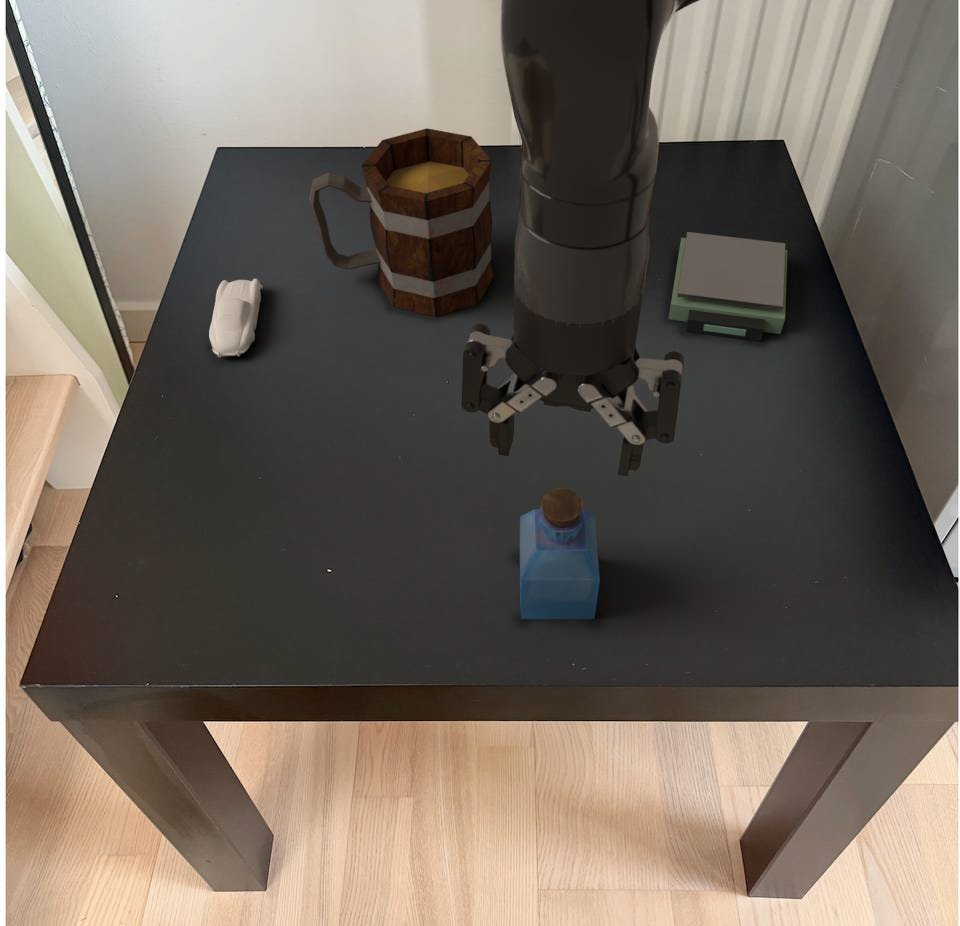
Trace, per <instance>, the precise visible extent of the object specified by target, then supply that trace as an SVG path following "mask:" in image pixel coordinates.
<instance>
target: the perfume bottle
mask: <svg viewBox="0 0 960 926" xmlns="http://www.w3.org/2000/svg"><path fill="white" fill-rule="evenodd" d="M540 503H541V504H540V506H539V507H540V508H539V509H532V510H530V511H529V512H527V513H524V514H522V515H521V516H520V517H519V595H520V596H519V597H520V598H519V599H520V601H519V603H520V620H595V616H596V609H597V602H598V595H599V589H600V588H599V587H600V580H601V579H600V566H599V555H598V554H599V553H598V543H597V540H598V539H597V531H596V530H597V529H596V517H595V515H593V514H592V513H591V512H589V511H587V510H586V509H584V508H583V505H584V503H583V500H582V498H581V496H580V495H579V494H578V493H577V492H575V491H573V490H572V489H569V488H563V487H558V488H553V489H551V490H549V491H547V492H546V493H545V494H544V495H543V497H542V499H541V502H540Z"/></svg>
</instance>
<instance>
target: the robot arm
mask: <svg viewBox="0 0 960 926" xmlns="http://www.w3.org/2000/svg"><path fill="white" fill-rule="evenodd" d="M697 2H700V0H501V6H500V15H499V16H500V18H499V21H500V23H499V30H500V31H499V37H500V48H501V57H502V62H503V68H504V73H505V78H506V83H507V88H508V93H509V98H510V102H511V108H512V112H513V116H514V120H515V123H516V127H517V131H518V134H519V136H520V140H521V143H520V144H521V145H520V156H519V157H520V159H519V169H520V170H519V212H518V218H517V225H516V226H517V227H516V230H515V238H514V250H513V268H514V269H513V335H512V336H511V337H510V338H506V337H501V336H495V335H491V330H490V328H489V327H488V326H487V324H484V323H475V324H474V325H473V326H472V327H471V330H470V332H469V335H468V339H467V341H466V344H465V348H464V350H463V352H462V354H463V355H462V376H461V377H462V379H461V409H463V410H464V411H465V412H468V413H476V412H478V411H480V412H482V413H484V414H485V415H487V419H488V422H489V425H488V426H489V443H490V445H491V447H492V448H497V452H498V456H503V457H509V456H510V452H511V449H512V446H513V442H514V438H515V437H514V436H515V413H518V414H521V413H522V412H524V411H526V410H527V409H528V408H529V407H531V406H532V405H534V404H535V403H536V402H538V401H539V400H540V401H541V402H543V405H544V406H548V407H549V406H550V407H558V408H559V407H568V408H571V409H574V410H577V411H581V412H588V413H591V412H592V410H595V411H596V412H597V413H598V414H599V416H600V417H601V418H602V419H603V420H604V422H605V423H606V424H607V425H608V426H609V427H610V428H616V429H617V430H618V431H619V432H620V433H621V435H622V436H623V438H622V444H621V445H622V447H621V451H620V459H619V465H618V471H617V475H618V476H623V477H628V476H629V472H630V471H636V472H637V470H638V469H639V468H640V466H641V461H642V456H643V449H644V445H645V443H646V442H647V441H649V440H653V439H654V440H655V439H656V441H657V442H659V443H661V444H670V443H672V442H673V441H674V439H675V436H676V435H675V433H676V427H677V418H678V411H679V404H680V394H681V387H682V378H683V371H684V363H685V357H684V355H683V354H682V352H678V351H669V352H667V353H666V354H665V355H664V359H658V358H645V357H641V355H640V353H639V351H638V350H637V347H636V343H637V337H638V330H639V326H640V325H639V324H640V318H641V311H642V305H643V297H644V291H645V284H646V278H647V275H648V274H649V269H650V264H649V263H650V262H649V261H650V260H649V257H650V248H651V247H650V245H651V244H650V242H651V241H650V238H651V237H650V235H651V233H650V220H651V212H652V205H653V197H654V192H655V191H654V190H655V185H656V177H657V170H658V162H659V161H658V160H659V150H660V149H659V148H660V136H659V135H660V133H659V126H658V123H657V118H656V116H655V114H654V113H653V111H652V109H651V107H650V100H651V90H652V82H653V74H654V70H655V64H656V59H657V55H658V51H659V48H660V47H659V46H660V42H661V40H662V36H663V34H664V32H665V30H666V29H667V27H668V25H669V24H670V22H671V20H672V19H673V17H674V15H675V14H676V13H678V12H680V11H681V10H683V9H685V8H687V7H689V6H691V5H692V4H695V3H697ZM502 359H503V360H505V363H506V365H507V366H508V368H510V370H511V371H512V374H511V375H510V376H509V377H508V378H506V379H505V380H504V381H503V382H501V383H500V384H499V385H498V386H496V387H495V386H493V385H490V384H488V370H489V369H491V368H494V367H496V363H497V361H499V360H502ZM638 379H640V380H642V381H644V382H645V383H646V385H647V388H648V390H649V391H650V392H651V395H652V397H654V398H658V406H657V410H649V409H648V408H647V407H646V406H645V404H644V403H643V402H642V400H641V399H640V398H639V397H638V395H637V394H636V389H635V385H634V384H635V383H637V381H638ZM629 470H630V471H629Z"/></svg>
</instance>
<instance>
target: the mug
mask: <svg viewBox="0 0 960 926" xmlns="http://www.w3.org/2000/svg"><path fill="white" fill-rule="evenodd" d="M491 169H492V159H491V158H490V157H489V155H488V154H487V153H486V152H485V151H484V149H483V148H482V147H481V146H480V145H479V144H478V142H477V141H476V140H475V139H474V138H473V137H472V136H471V135H466V134H461V133H455V132H449V131H444V130H439V129H433V128H429V127H428V128H424V129H419V130H415V131H411V132H408V133H403V134H400V135H397V136H392V137H389V138H384V139H381V141H380V142H379V143H378V144H377V145H376V147H375V148H374V150H372V152H371V153H370V154H369V156H368V157H367V158H366V159H365V160H364V162H363V163H362V164H361V171H362V173H363V176H364V181H365V184H366V187H363V186H362V187H361V186H359V185H358V184H356V183H355V182H353V181H352V180H350V179H349V178H348V177H346V176H345V175H342V174H338V173H334V172H330V171H329V172H327V173H324V174H321V175H319V176H318V177H315V178H313V180H312V182H311V187H310V192H309V198H308V204H309V207H310V210H311V213H312V215H313V219H314V221H315V224H316V228H317V233H318V238H319V242H320V246H321V249H322V252H323V255H324V256H325V257H326V258H327V260H328V261H329V263H331V265H332V266H333V267H335V268H340V269H343V270H347V271H350V270H354V269H358V268H362V267H366V266H371V265H376V264H377V271H378V272H377V281H378V283H379V284H380V286H381V289H382V290H383V291H384V293H385V295H386V296H387V298H388V300H389V301H390V303H391V305H392V307H393V308H397V309H401V310H405V311H410V312H415V313H418V314H421V315H427V316H431V317H435V318H438V317H441V316H443V315H446V314H449V313H452V312H455V311H459V310H462V309H465V308H468V307H472V306H475V305H478V304H479V303H480V301H481V300H482V298H483V296H484V294H485V292H486V291H487V289H488V287H489V286H490V284H491V282H492V280H493V278H494V277H495V272H494V268H493V261H492V232H493V215H492V208H491V200H490V177H491ZM329 187H330V188H332V189H337V190H338V191H341V192H342V193H344V194H345V195H346V196H348V197H349V198H351V199H352V200H353V201H355V202H358V203H368V204H369V226H370V230H371V234H372V238H373V241H374V245H375V249H372V250H366V251H360V252H358V253H355V254H352V255H349V256H348V255H345V254H341V253H338V251H337V250H336V248H335V247H334V245H333V244H332V241H331V235H330V232H329V226H328V222H327V217H326V215H325V212H324V209H323V207H322V204H321V201H320V191H323V190H324V189H326V188H329Z"/></svg>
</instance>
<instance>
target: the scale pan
mask: <svg viewBox="0 0 960 926" xmlns="http://www.w3.org/2000/svg"><path fill="white" fill-rule="evenodd" d="M685 238H686V241H685V248H684V255H683V262H682V268H681V275H680V282H679V289H678V295H677V297H682V298H690V299H698V300H705V301H713V302H721V303H729V304H736V305H744V306H752V307H760V308H768V309H775V310H782V308H783V294H784V267H785V250H786V243H785V242H777V241H768V240H760V239H753V238H752V239H751V238H743V237H734V236H725V235H717V234H709V233H708V234H707V233H699V232H689V231H686V236H685Z"/></svg>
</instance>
